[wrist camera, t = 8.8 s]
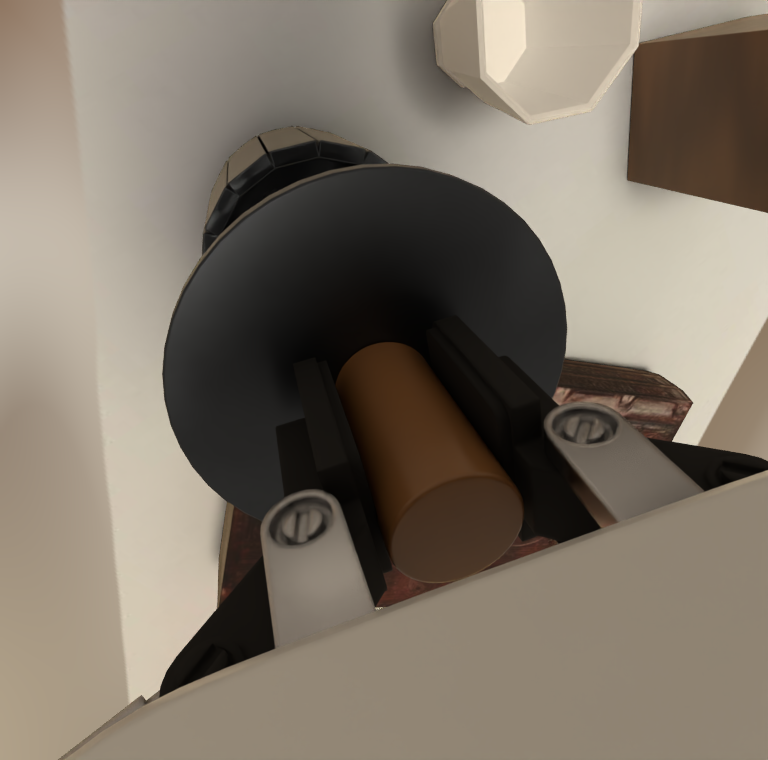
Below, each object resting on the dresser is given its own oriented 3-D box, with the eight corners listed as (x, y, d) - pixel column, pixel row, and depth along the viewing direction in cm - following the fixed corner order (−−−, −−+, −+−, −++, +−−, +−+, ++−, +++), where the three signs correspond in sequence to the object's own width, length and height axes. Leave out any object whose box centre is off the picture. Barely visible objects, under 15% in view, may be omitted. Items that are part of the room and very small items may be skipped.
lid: (77, 234, 10) (-58, 361, 5) (553, 112, 11) (787, 127, 6) (249, 568, 15) (257, 780, 10) (560, 461, 16) (691, 609, 12)
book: (648, 367, 39) (699, 401, 35) (553, 551, 47) (585, 597, 42) (254, 312, 29) (258, 349, 25) (218, 555, 37) (217, 615, 33)
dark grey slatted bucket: (180, 152, 25) (159, 178, 17) (365, 107, 26) (417, 114, 18) (245, 323, 29) (249, 400, 22) (398, 280, 30) (449, 339, 23)
